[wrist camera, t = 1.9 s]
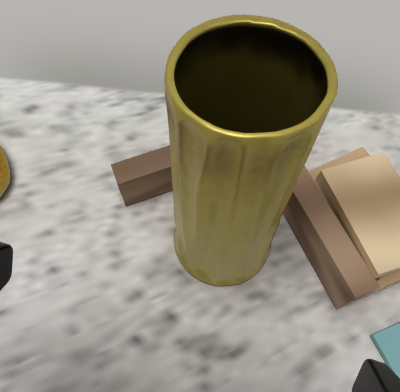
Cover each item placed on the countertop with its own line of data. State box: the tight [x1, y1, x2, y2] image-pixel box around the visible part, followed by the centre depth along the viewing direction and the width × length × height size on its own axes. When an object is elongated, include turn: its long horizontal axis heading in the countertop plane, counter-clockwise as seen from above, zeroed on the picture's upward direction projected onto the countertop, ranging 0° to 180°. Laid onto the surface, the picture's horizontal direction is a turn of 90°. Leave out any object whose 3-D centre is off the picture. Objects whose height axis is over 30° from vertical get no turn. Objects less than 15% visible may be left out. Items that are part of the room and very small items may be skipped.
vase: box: [165, 15, 338, 286], centre depth 18 cm, size 6×6×14 cm
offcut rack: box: [111, 146, 400, 309], centre depth 23 cm, size 12×16×4 cm
